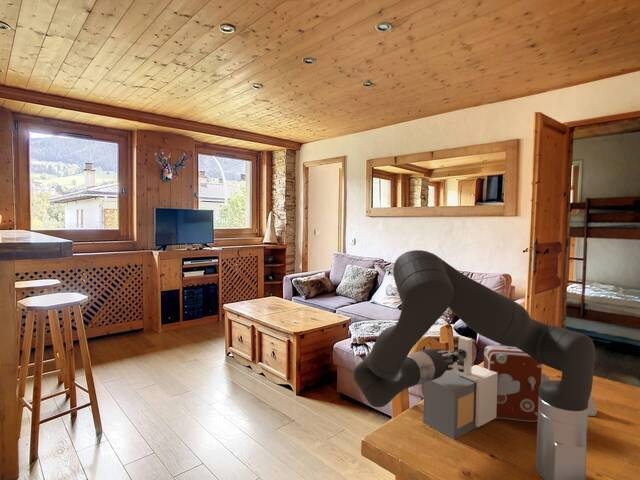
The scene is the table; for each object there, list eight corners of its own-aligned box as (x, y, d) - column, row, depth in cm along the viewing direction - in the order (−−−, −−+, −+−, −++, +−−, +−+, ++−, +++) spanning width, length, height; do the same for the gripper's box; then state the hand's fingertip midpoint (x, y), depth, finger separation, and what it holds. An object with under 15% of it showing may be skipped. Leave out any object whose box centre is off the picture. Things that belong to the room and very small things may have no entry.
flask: (569, 412, 111) (570, 380, 111) (567, 402, 117) (568, 371, 117) (599, 419, 108) (601, 385, 107) (595, 408, 114) (596, 376, 113)
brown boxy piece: (562, 428, 103) (565, 357, 102) (487, 420, 107) (489, 351, 106) (549, 411, 112) (552, 346, 111) (480, 404, 116) (482, 341, 115)
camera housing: (464, 403, 116) (465, 362, 116) (495, 417, 108) (496, 373, 107) (423, 422, 105) (424, 377, 105) (453, 439, 97) (455, 391, 96)
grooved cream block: (474, 407, 112) (476, 332, 111) (496, 417, 106) (498, 338, 105) (456, 416, 107) (458, 337, 105) (477, 427, 101) (480, 344, 100)
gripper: (444, 360, 89) (485, 346, 99) (402, 345, 100) (443, 334, 110) (443, 391, 89) (484, 374, 99) (402, 372, 100) (443, 358, 110)
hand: (463, 353), depth 104 cm, fingers closed
